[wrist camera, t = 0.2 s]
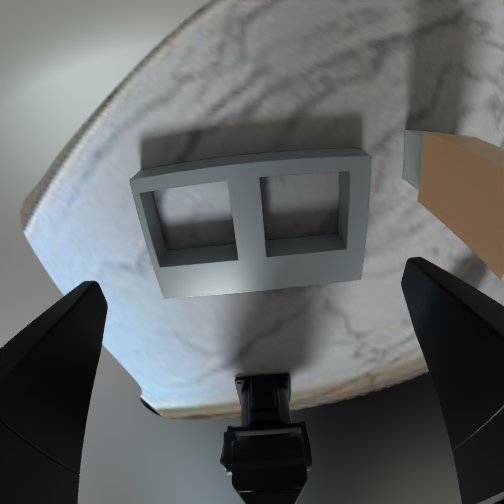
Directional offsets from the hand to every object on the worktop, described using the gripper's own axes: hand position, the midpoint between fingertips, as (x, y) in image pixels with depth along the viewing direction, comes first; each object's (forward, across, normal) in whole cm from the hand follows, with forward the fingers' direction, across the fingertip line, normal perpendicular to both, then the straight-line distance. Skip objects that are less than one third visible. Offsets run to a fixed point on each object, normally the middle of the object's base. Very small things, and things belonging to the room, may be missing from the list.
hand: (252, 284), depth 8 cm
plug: (+14, -14, 0) cm, 20 cm away
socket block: (+14, 0, +5) cm, 15 cm away
